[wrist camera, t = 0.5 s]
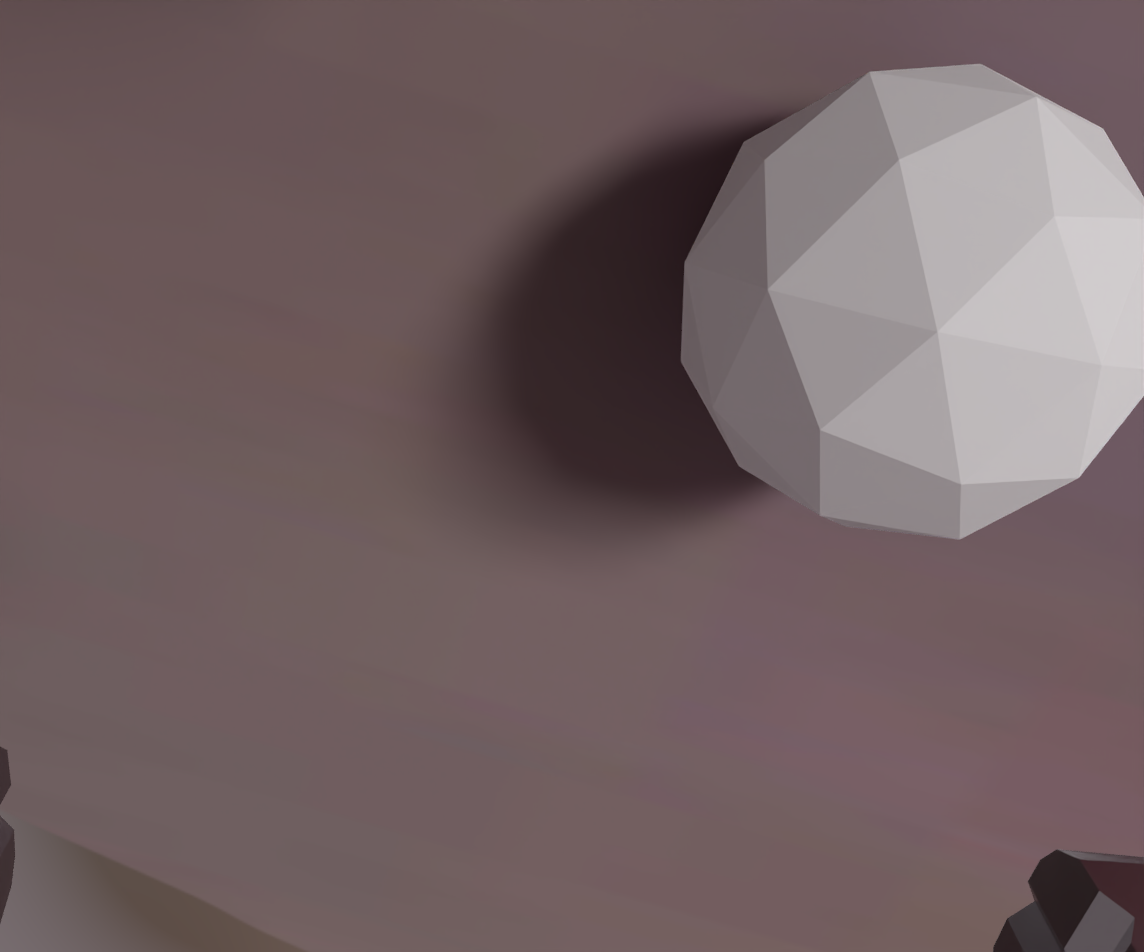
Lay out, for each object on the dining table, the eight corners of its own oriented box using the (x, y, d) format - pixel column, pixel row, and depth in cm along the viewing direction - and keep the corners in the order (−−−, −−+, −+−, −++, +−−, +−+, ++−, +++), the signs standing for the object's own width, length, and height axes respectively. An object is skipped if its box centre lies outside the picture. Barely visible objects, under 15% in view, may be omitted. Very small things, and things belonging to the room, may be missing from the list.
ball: (794, 119, 57) (1011, -153, 38) (1054, 383, 58) (1401, 247, 38) (551, 353, 53) (655, 180, 33) (835, 638, 53) (1103, 631, 34)
